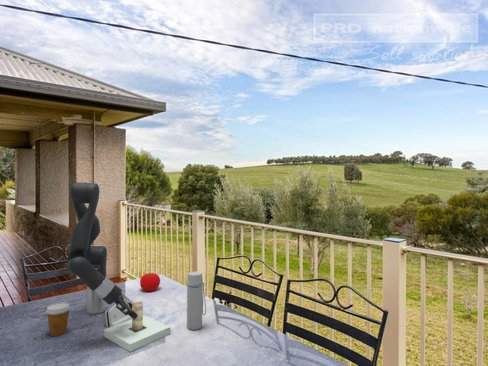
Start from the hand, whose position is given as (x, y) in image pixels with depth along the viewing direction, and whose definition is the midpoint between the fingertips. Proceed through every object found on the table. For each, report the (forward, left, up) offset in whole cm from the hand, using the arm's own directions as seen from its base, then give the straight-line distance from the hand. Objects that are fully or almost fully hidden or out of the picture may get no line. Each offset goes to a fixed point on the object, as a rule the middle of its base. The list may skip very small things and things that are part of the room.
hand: (135, 313), depth 144 cm
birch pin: (0, +1, -10) cm, 10 cm away
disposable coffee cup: (-28, -20, -10) cm, 36 cm away
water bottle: (+15, +23, -10) cm, 29 cm away
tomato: (-45, +40, -10) cm, 61 cm away
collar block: (+1, +1, -9) cm, 10 cm away
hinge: (-18, +4, -10) cm, 21 cm away
